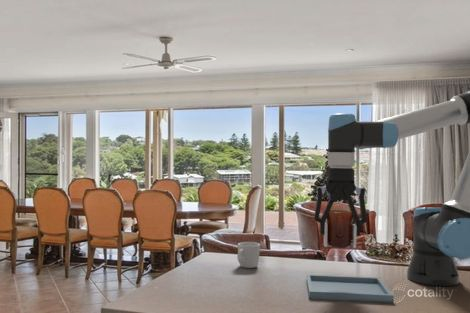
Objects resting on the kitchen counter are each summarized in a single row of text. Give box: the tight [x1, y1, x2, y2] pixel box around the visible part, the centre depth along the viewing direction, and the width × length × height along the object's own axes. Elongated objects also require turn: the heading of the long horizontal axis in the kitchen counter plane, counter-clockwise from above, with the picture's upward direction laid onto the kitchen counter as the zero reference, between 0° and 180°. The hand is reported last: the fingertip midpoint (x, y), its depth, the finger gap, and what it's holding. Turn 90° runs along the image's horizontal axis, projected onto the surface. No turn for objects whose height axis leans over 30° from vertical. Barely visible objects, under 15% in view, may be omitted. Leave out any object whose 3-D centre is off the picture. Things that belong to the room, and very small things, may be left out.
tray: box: [306, 274, 395, 304], centre depth 127 cm, size 22×18×2 cm
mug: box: [326, 209, 354, 249], centre depth 128 cm, size 12×9×10 cm
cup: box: [236, 241, 261, 269], centre depth 154 cm, size 11×8×8 cm
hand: (339, 246), depth 128 cm, fingers closed on mug, 7 cm apart
